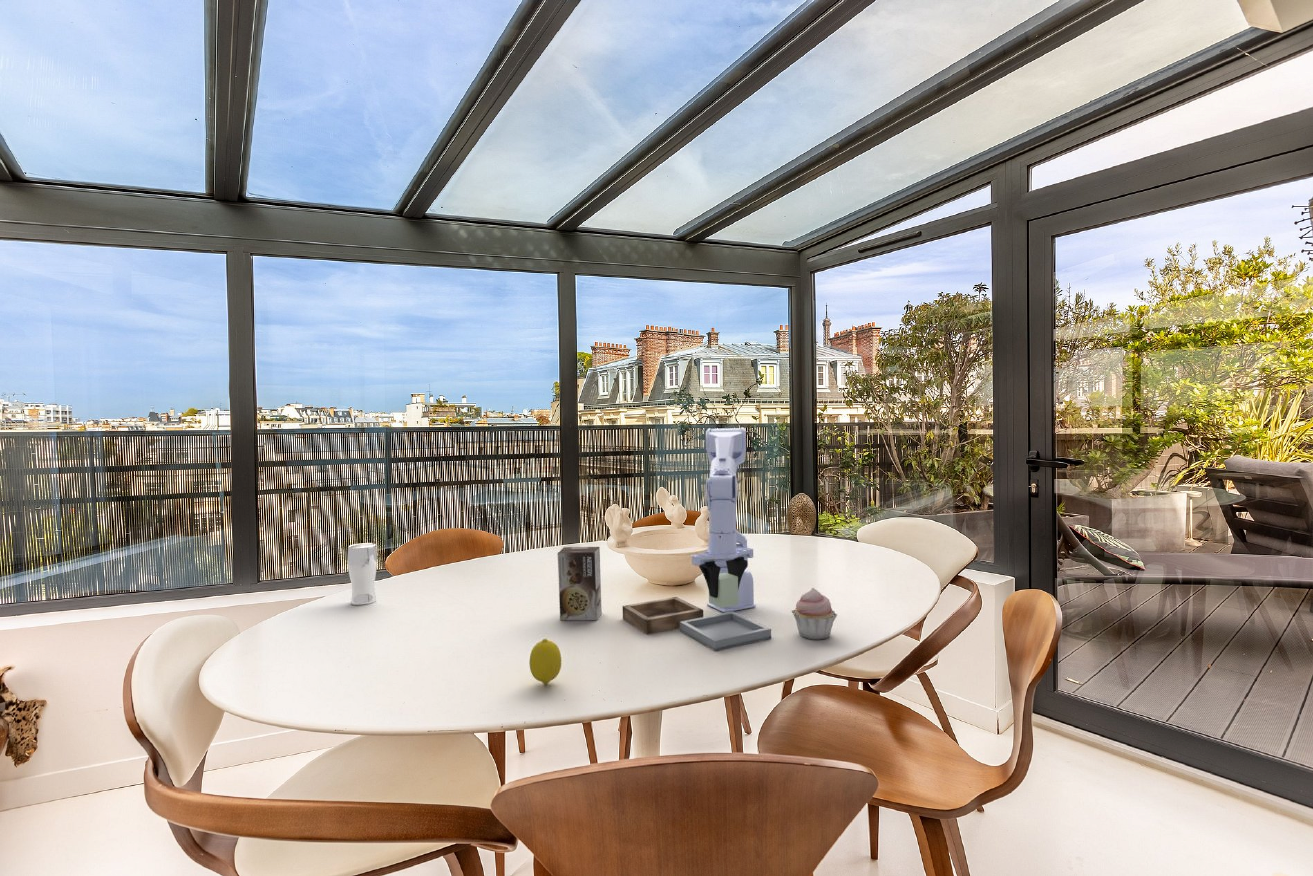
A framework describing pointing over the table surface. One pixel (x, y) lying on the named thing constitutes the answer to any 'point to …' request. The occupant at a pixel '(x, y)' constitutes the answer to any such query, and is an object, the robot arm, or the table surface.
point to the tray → (725, 630)
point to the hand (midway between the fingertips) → (723, 594)
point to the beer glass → (362, 572)
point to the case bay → (660, 623)
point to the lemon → (545, 661)
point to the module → (726, 591)
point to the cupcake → (814, 615)
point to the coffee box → (579, 583)
